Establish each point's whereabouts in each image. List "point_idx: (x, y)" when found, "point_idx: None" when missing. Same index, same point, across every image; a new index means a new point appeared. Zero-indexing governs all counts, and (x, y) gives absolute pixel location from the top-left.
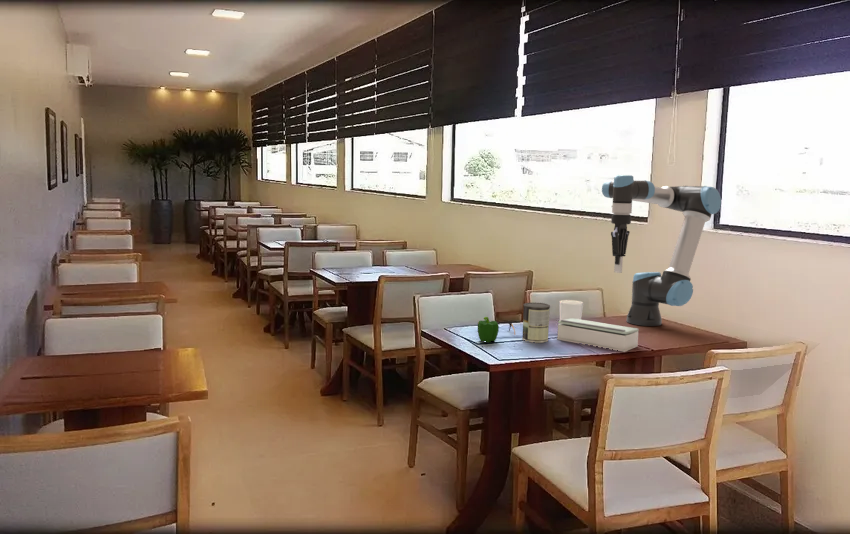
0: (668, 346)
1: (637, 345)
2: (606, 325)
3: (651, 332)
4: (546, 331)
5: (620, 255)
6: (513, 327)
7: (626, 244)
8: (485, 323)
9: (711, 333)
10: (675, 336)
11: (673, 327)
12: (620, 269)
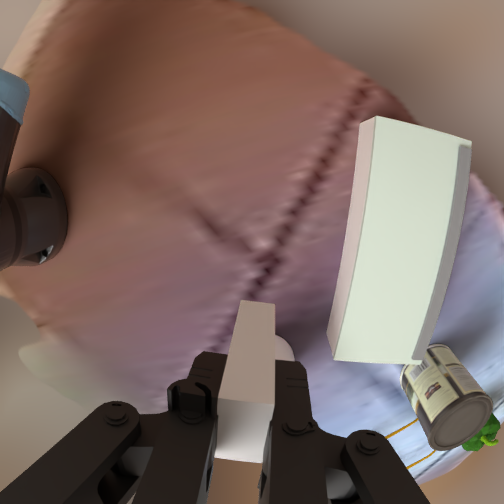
0: (295, 47)
1: (360, 123)
2: (401, 227)
3: (128, 147)
4: (449, 357)
5: (304, 424)
6: (401, 430)
7: (24, 502)
8: (491, 435)
9: (53, 33)
10: (138, 73)
11: (35, 130)
12: (274, 319)
